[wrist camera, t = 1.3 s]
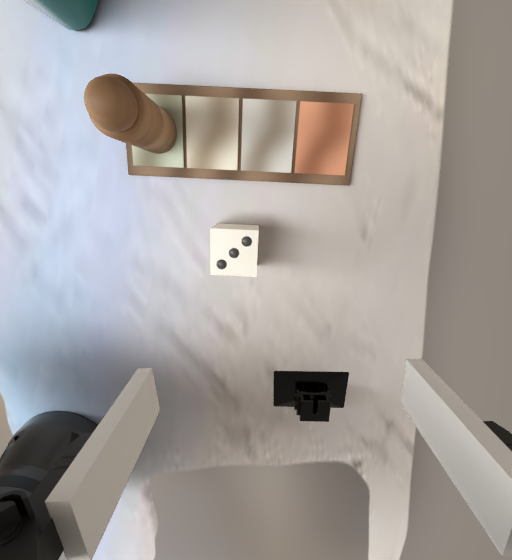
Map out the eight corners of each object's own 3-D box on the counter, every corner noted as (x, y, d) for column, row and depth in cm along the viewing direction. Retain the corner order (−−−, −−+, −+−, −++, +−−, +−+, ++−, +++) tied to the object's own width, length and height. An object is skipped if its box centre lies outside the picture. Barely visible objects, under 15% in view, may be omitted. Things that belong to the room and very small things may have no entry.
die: (217, 263, 35) (210, 274, 30) (217, 223, 34) (210, 228, 29) (256, 265, 35) (256, 276, 30) (258, 225, 34) (258, 230, 29)
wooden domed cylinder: (137, 152, 31) (72, 131, 20) (134, 107, 30) (62, 58, 19) (177, 154, 31) (133, 134, 20) (176, 109, 30) (127, 61, 19)
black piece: (357, 366, 40) (370, 388, 35) (351, 410, 42) (362, 437, 37) (264, 364, 40) (265, 386, 35) (263, 408, 42) (263, 435, 38)
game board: (130, 174, 32) (127, 174, 31) (122, 83, 29) (119, 81, 29) (348, 185, 32) (349, 185, 32) (360, 95, 29) (362, 92, 29)
